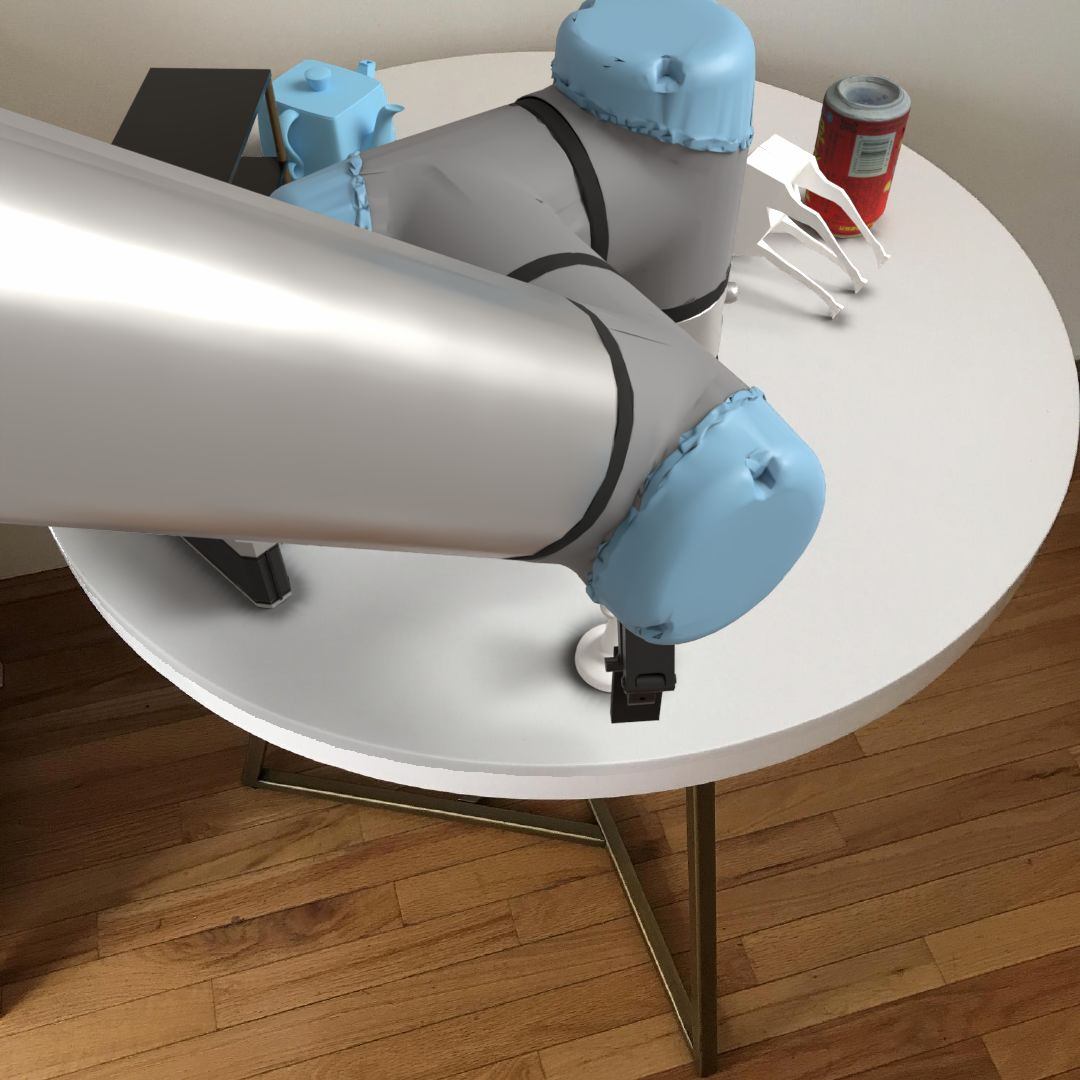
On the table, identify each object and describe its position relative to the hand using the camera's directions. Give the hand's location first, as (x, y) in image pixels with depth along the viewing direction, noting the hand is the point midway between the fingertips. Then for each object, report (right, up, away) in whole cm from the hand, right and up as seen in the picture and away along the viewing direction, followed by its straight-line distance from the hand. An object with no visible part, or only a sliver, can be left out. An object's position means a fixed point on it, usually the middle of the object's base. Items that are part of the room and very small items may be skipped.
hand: (620, 619), depth 70 cm
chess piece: (0, -3, +3) cm, 4 cm away
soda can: (+22, +33, +34) cm, 52 cm away
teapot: (-24, +39, +39) cm, 61 cm away
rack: (-32, +26, +28) cm, 50 cm away
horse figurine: (+11, +30, +31) cm, 44 cm away
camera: (-25, +5, +10) cm, 27 cm away
